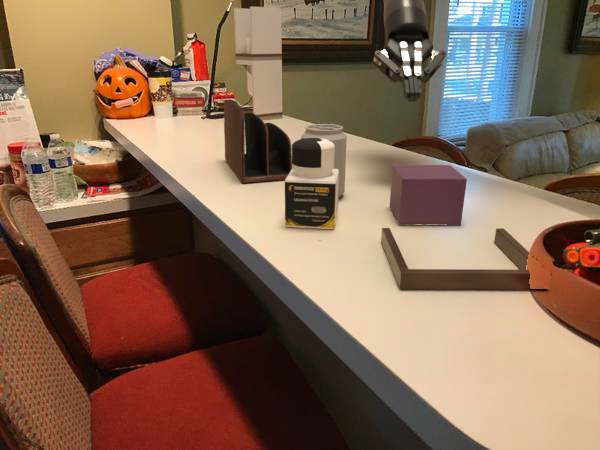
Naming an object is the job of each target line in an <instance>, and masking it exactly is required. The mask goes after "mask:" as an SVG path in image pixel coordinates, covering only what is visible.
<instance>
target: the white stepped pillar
mask: <svg viewBox="0 0 600 450" xmlns="http://www.w3.org/2000/svg"><path fill="white" fill-rule="evenodd" d="M233 23H234V25H233V26H234V49H235V64H236V65H243V66H244V65H245V66H246V76H247V77H246V85H247V93H248V95H250V96H251V97H252V109H249V110H243V113H244V115H245V113H248V112H251V113H254V114H255V115H257V116H258V117H259V118H260V119H261V120H262V121H269V120H276V119H283V51H282V50H283V48H282V47H283V46H282V44H283V42H282V41H283V40H282V37H283V36H282V7H271V6H270V7H269V6H249V8H244V7H243V8H241V7H233Z"/></svg>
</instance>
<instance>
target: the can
mask: <svg viewBox="0 0 600 450" xmlns="http://www.w3.org/2000/svg"><path fill="white" fill-rule="evenodd" d="M304 129H305V131H304V132H303V133H302V135H301V136H300V139H304V138H322V139H327V140H329V141H331V142H333V144H334V145H335V154H334V169H338V170H339V191H338V199H339V198H340V197H341V196H342V195H343V194H345V191H346V167H347V166H346V165H347V164H346V163H347V141H348V140H347V137H348V136H347V135H346V134H345V133H344V131H343V129H344V126H342V125H339V124H334V123H313V124H307V125H305V127H304Z"/></svg>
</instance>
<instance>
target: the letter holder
mask: <svg viewBox="0 0 600 450" xmlns="http://www.w3.org/2000/svg"><path fill="white" fill-rule="evenodd" d="M243 111H244V110H243V109H242V107H241V105H239V103H238V102H236V101H235V100H234V99H229V98H228V99H224V101H223V112H224V114H223V115H224V116H223V118H224V119H223V133H224V134H223V135H224V160H225V161H226V162H227V164H228V165H229V167H231V169H232V171H233V172H234V174H235V175H236V176H237V178H238V179H239V180H240V182H241V183H242V185H245V184H251V183H263V182H275V181H285V179H286V178H287V176H288V175H289V173H290V171H291V170H292V141H291V138H290V137H289V134H287V133H286V132H285V131H284V130H283V129H282V128H280V127H279V126H278V125H277V124H274V123H272V122H264V120H261V119H260V118H259V117H258V116H257V115H255V114H254V113H251V112H248V113H245V115H244V113H243Z"/></svg>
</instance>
